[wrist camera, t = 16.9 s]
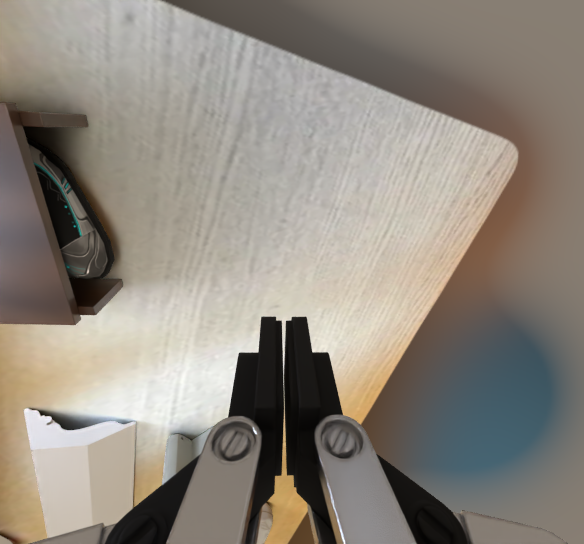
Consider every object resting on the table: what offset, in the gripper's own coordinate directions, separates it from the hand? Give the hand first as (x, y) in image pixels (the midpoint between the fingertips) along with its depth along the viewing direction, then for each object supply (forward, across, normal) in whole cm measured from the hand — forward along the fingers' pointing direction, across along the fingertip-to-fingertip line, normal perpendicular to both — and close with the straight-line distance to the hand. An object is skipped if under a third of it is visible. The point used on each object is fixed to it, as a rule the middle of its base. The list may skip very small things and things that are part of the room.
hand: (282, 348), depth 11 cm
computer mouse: (+23, +23, +1) cm, 33 cm away
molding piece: (+23, +32, +48) cm, 62 cm away
